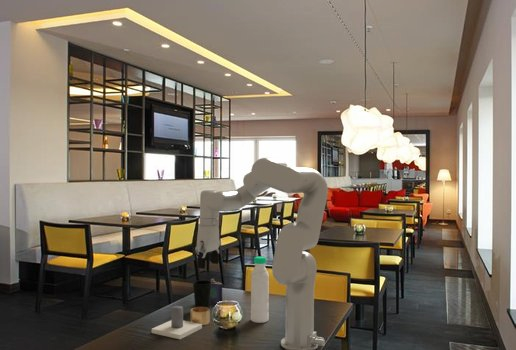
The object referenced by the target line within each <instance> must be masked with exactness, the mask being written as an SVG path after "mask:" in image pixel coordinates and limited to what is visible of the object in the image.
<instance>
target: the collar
mask: <svg viewBox="0 0 516 350" xmlns="http://www.w3.org/2000/svg"><path fill="white" fill-rule="evenodd" d="M210 312H211V309H210V307H209V308H207V307H195V306H194V307H193V308H191V309H190V321H189V322H193V323H198V324H202V326H205V325H208V324H210V319H211V313H210Z"/></svg>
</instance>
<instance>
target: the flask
mask: <svg viewBox="0 0 516 350" xmlns="http://www.w3.org/2000/svg"><path fill="white" fill-rule="evenodd" d="M210 281H211V293H210V304H211V305H212V304H214V305H215V304H216V303H217V302H219V301H222V302H223V283H221V282H220V281H216V280H215V278H211V279H210ZM216 305H217V304H216Z"/></svg>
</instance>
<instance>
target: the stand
mask: <svg viewBox="0 0 516 350" xmlns="http://www.w3.org/2000/svg"><path fill="white" fill-rule="evenodd" d="M201 329H203V325H202V324H198V323H193V322H190V321H188V320H184V306H182V305H174V306H172V307H171V319H170V320H168V321H166V322H164V323H162V324H160V325H157V326H155V327H153V328H151V334H156V335H159V336H164V337H168V338H172V339H177V340H182V339H184V338H186V337H189V336H191V335H192V334H193V333H196V332H197V331H199V330H201Z"/></svg>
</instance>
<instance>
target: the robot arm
mask: <svg viewBox="0 0 516 350" xmlns="http://www.w3.org/2000/svg"><path fill="white" fill-rule="evenodd" d="M242 179H243V185H242V186H239V188H237V189H234V190H220V191H218V190H210V189H209V190H206V189H205V190H202V191H201V192H200V199H199V226H198V230H197V235H196V236H197V237H196V246H195V249H194V250H195V254H196V258H197V268H198V269H203V270H204V269H206V255H207V253H211V254H210V263H211V264H215V265H218V264H219V256H220V249H221V245H222V241H221V240H220V212H227V211H235V210H240V209H242V208H243V207H245V206H248V205H250V204H251V203H253V202H254V201H255V200H256V199H257V197H259V195H260V194H262V193H263V192H265V191H267V190H269V189H271V188H272V189H274V190H276V191H279V192H283V193H285V194H291V195H292V194H303V197H302V199H301V201H300V203H299V205H298V209H297V215H296V217H295V218H296V219H295V221H294V222H290V223H287V224H286V225H284V226H283V227H282V228H281V230H280V231H279V233H278V235H277V238H276V245H275V249H274V254H273V260H272V264H271V265H272V266H271V267H272V269H271V270H272V275H273V278H274V279H275V281H276V282H277V283H278V284H280V285H282V286H286V289H285V329H284V330H285V337H283V338H282V339H280V346H281V347H282V348H284V349H285V350H316V349H318V347H319V346H322V347H325V344H326V340H325V337H322V336H318V335H317V331H314V328H315V323H314V321H315V320H314V319H315V309H314V308H315V307H314V306H315V285H316V284H315V283H316V277H317V271H318V270H317V268H318V267H317V262H316V259H315V257H314V256H313V255H312V254H311V253H310V252H308V250H310V249H314V248H315V247H316V246H317V244H318V242H319V238H320V234H321V228H322V225H323V224H322V223H323V219H324V213H325V208H326V205H327V199H328V195H329V193H328V192H329V188H328V184H327V181H326V179H325V177H324V176H323V175H322V174H321V172H319V171H318V170H316V169H313V168H311V167H291V166H288V164H287V163H286V162H285V161H284V160H283V159H280V158H276V157H275V158H273V157H262V158H258V159H257V160H255V162H254V163H253V164H252V166H251V170H250V172H248V173H246V174H245V175H244V177H243V178H242Z"/></svg>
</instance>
